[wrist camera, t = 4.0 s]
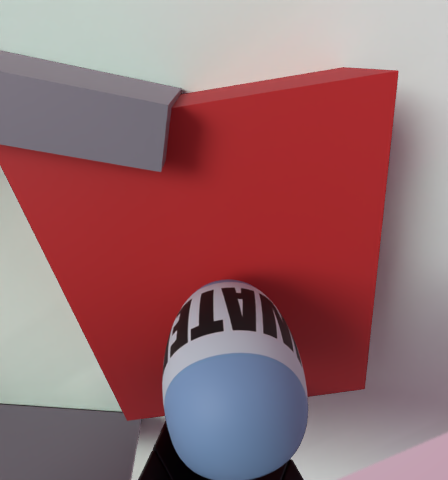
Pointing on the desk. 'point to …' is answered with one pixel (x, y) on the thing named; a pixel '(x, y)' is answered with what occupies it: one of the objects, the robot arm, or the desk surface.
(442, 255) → the desk surface
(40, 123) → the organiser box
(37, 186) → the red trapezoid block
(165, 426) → the robot arm
